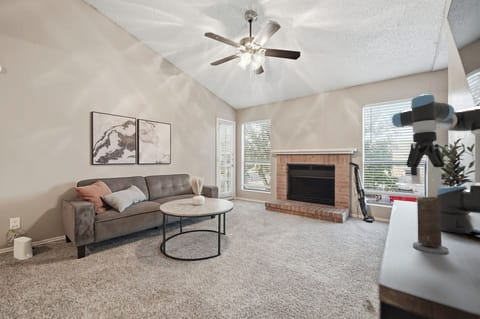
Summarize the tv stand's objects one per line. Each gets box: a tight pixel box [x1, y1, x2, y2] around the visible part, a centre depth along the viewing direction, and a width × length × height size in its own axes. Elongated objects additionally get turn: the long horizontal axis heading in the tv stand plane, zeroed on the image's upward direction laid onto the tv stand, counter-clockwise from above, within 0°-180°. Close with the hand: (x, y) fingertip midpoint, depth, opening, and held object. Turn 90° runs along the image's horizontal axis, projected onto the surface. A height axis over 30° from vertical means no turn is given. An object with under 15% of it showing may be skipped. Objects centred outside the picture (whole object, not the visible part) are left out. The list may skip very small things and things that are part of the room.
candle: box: [416, 196, 443, 247], centre depth 90 cm, size 8×7×20 cm
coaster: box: [412, 241, 449, 255], centre depth 89 cm, size 11×11×1 cm
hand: (426, 183), depth 91 cm, fingers open, 13 cm apart
